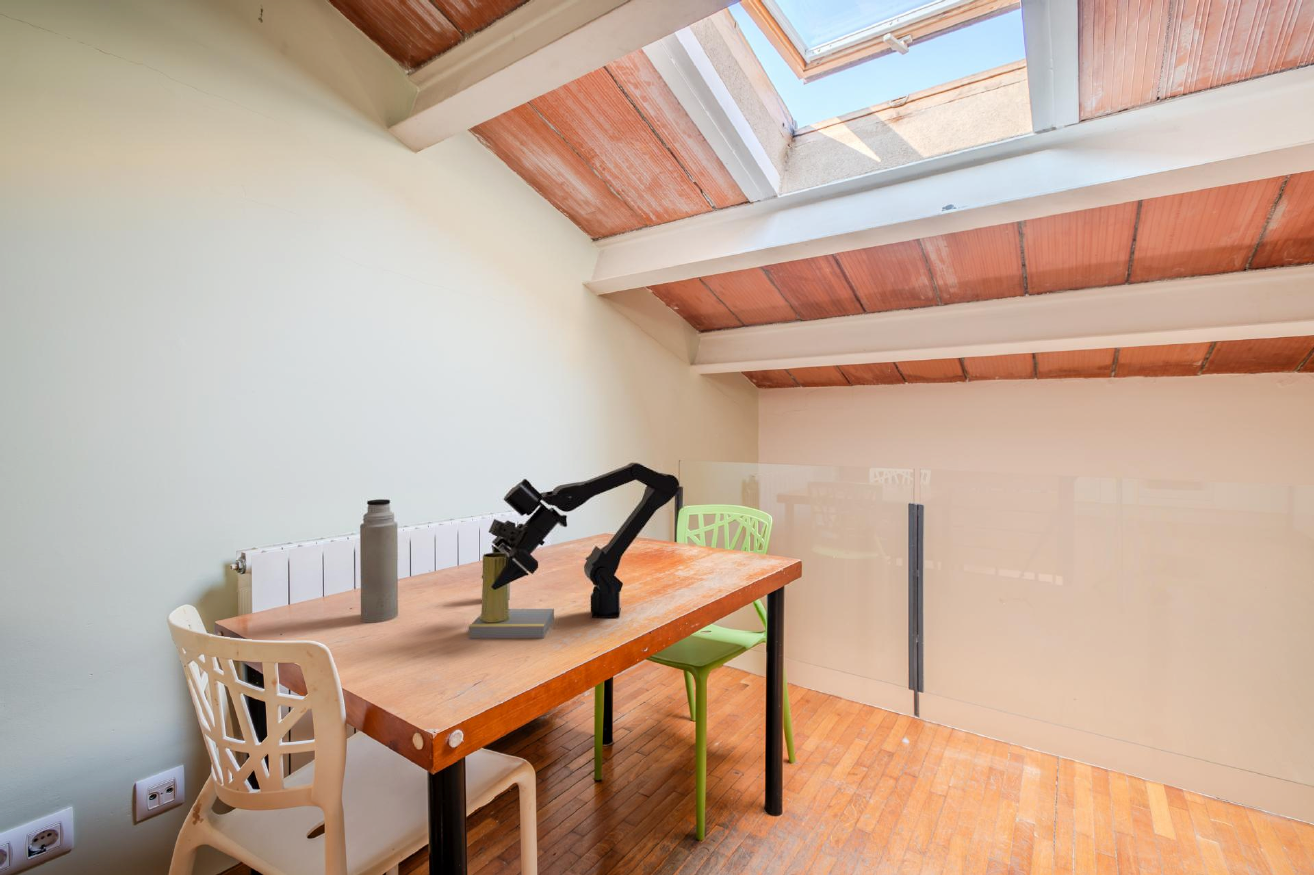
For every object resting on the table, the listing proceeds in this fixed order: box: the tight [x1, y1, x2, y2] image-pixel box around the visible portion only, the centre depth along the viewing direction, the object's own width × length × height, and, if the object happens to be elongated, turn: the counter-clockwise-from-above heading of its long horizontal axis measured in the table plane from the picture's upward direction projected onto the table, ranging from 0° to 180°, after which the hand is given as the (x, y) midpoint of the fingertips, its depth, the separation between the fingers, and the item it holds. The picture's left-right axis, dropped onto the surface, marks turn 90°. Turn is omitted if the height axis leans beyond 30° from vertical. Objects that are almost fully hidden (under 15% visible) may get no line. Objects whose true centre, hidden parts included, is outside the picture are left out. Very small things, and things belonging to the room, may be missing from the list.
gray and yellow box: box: [468, 608, 555, 639], centre depth 126 cm, size 16×12×3 cm
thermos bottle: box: [359, 498, 399, 623], centre depth 134 cm, size 8×8×28 cm
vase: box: [480, 552, 510, 623], centre depth 125 cm, size 6×6×14 cm
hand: (487, 583), depth 124 cm, fingers open, 9 cm apart
